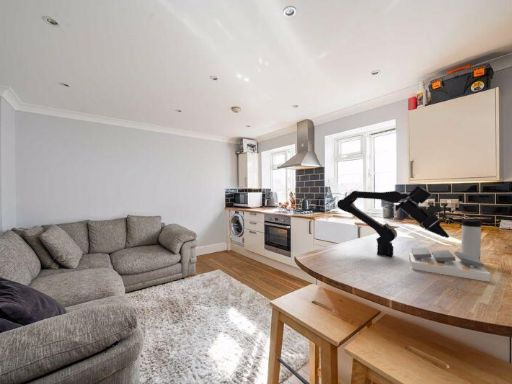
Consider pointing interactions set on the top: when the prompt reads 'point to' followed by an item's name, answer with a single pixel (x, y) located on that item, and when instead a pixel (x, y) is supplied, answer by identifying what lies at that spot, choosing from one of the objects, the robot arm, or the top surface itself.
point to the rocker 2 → (443, 255)
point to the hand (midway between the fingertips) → (446, 236)
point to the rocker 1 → (420, 252)
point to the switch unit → (449, 268)
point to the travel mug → (471, 237)
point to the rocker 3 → (468, 259)
